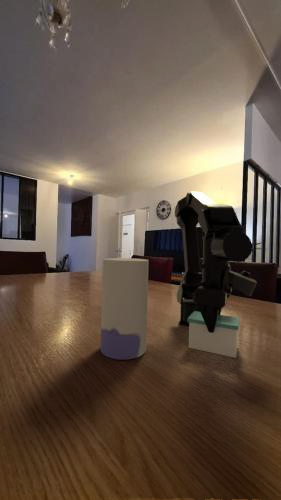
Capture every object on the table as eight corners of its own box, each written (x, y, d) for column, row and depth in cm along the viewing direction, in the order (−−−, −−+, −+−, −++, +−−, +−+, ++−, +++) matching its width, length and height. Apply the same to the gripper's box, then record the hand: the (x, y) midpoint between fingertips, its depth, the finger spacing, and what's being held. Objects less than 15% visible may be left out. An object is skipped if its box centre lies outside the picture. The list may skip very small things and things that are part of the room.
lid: (187, 327, 51) (187, 318, 51) (194, 318, 58) (194, 311, 58) (238, 336, 47) (238, 326, 47) (239, 325, 53) (239, 317, 53)
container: (151, 344, 53) (153, 258, 53) (137, 364, 44) (139, 260, 44) (113, 337, 56) (115, 257, 56) (91, 355, 47) (94, 258, 47)
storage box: (188, 347, 52) (189, 321, 52) (194, 338, 57) (194, 314, 57) (236, 357, 47) (236, 329, 47) (237, 347, 53) (238, 321, 53)
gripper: (255, 263, 40) (253, 350, 40) (253, 260, 57) (252, 321, 57) (193, 260, 45) (191, 338, 45) (208, 258, 62) (206, 315, 62)
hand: (213, 327), depth 52 cm, fingers closed on lid, 7 cm apart
